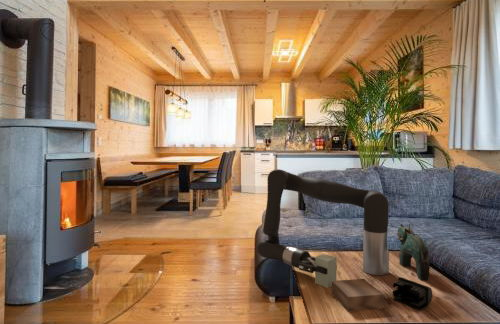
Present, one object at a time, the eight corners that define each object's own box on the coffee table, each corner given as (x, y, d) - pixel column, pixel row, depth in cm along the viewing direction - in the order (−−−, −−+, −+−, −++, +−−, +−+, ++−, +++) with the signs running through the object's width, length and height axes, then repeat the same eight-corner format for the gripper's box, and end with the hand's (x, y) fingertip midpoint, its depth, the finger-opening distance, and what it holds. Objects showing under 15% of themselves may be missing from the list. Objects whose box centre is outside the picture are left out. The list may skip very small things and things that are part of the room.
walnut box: (363, 292, 110) (363, 278, 110) (383, 309, 98) (383, 294, 98) (331, 294, 108) (332, 280, 108) (348, 312, 96) (348, 297, 96)
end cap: (432, 305, 100) (433, 285, 100) (421, 312, 96) (422, 290, 96) (402, 293, 109) (403, 274, 108) (391, 299, 105) (391, 279, 104)
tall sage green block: (323, 278, 121) (324, 253, 120) (336, 283, 116) (336, 257, 116) (315, 283, 117) (315, 257, 116) (327, 287, 113) (328, 261, 112)
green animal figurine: (395, 262, 138) (396, 218, 138) (409, 262, 138) (410, 218, 137) (417, 281, 119) (418, 230, 118) (434, 281, 118) (436, 230, 118)
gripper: (284, 252, 122) (320, 264, 110) (307, 245, 132) (342, 255, 119) (284, 271, 122) (320, 285, 110) (307, 262, 132) (342, 274, 119)
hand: (331, 269), depth 115 cm, fingers closed on tall sage green block, 5 cm apart
